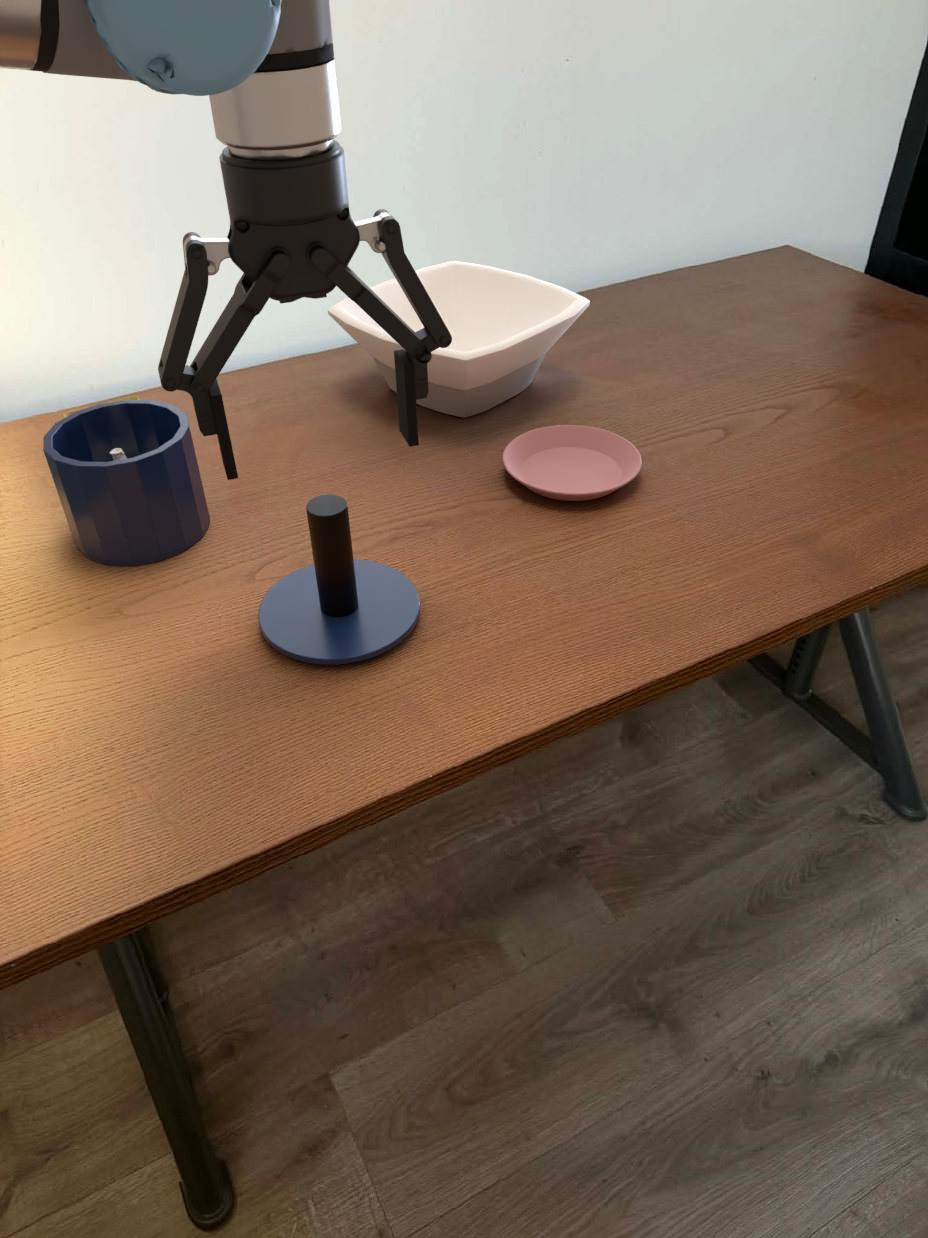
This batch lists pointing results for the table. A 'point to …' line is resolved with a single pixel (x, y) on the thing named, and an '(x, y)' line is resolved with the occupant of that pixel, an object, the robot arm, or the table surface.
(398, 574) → the lid
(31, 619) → the table surface
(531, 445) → the plate
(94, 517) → the pot
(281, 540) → the table surface
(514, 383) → the bowl
